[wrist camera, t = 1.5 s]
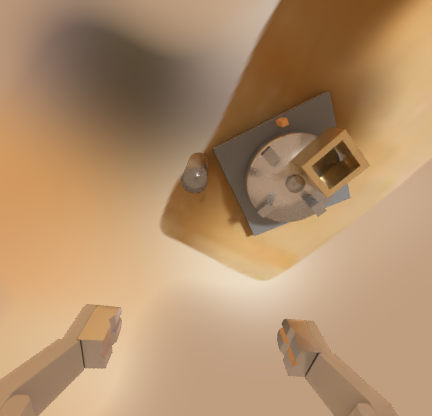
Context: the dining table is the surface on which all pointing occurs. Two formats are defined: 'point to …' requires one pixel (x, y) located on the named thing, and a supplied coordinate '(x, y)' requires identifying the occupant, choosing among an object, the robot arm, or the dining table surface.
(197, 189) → the steel pin
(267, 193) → the grey round chuck
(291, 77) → the dining table surface
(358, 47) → the dining table surface
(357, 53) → the dining table surface
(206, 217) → the dining table surface
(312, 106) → the base
